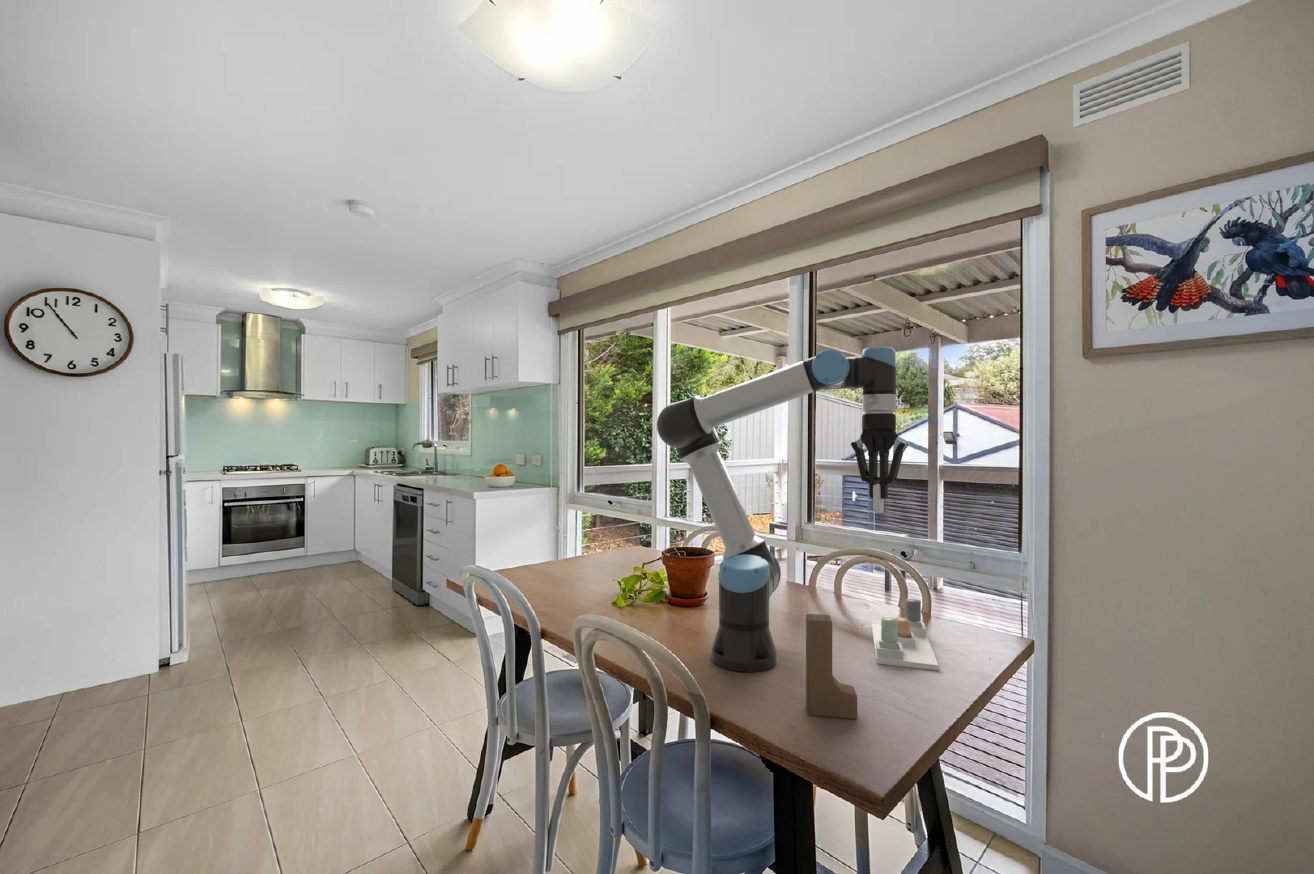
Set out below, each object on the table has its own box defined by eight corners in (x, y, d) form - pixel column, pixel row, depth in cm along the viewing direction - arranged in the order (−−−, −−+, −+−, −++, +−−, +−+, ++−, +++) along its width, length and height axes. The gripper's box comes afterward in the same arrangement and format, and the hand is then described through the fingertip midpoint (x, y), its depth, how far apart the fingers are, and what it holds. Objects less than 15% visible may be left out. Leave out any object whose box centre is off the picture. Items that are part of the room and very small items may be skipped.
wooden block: (853, 708, 110) (854, 615, 110) (857, 720, 106) (857, 623, 106) (805, 704, 112) (805, 613, 112) (807, 715, 107) (807, 620, 107)
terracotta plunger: (894, 641, 141) (894, 621, 141) (893, 636, 144) (893, 616, 144) (910, 643, 140) (910, 622, 140) (908, 638, 143) (909, 618, 143)
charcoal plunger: (906, 621, 148) (906, 601, 148) (904, 616, 152) (905, 598, 152) (921, 622, 147) (921, 603, 147) (919, 618, 150) (919, 599, 150)
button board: (876, 663, 132) (876, 649, 132) (871, 627, 156) (871, 616, 156) (938, 670, 128) (938, 656, 128) (923, 633, 152) (923, 621, 152)
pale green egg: (881, 642, 133) (881, 620, 133) (880, 636, 137) (880, 616, 137) (898, 643, 132) (898, 622, 132) (897, 638, 136) (897, 617, 135)
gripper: (845, 413, 137) (845, 511, 137) (901, 411, 129) (900, 516, 129) (858, 413, 143) (858, 508, 143) (912, 412, 134) (912, 513, 134)
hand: (878, 512), depth 136 cm, fingers closed
